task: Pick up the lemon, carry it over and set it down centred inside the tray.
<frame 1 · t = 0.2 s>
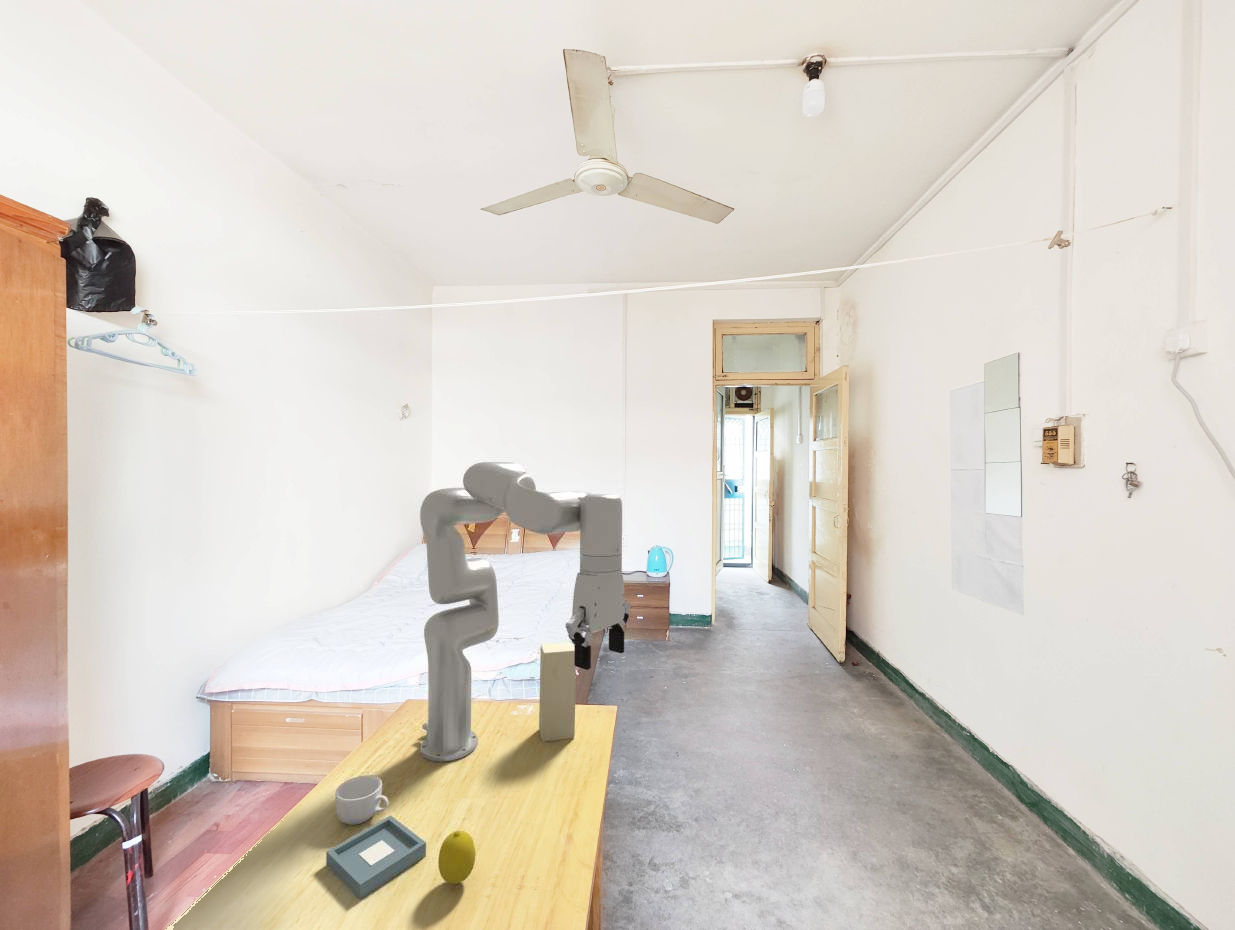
hand: (600, 659, 92), 31 cm above the table, fingers open, 9 cm apart
tray: (376, 860, 85), on the table
lemon: (456, 884, 81), on the table
beige rectangular block: (556, 733, 127), on the table
teacup: (363, 818, 96), on the table
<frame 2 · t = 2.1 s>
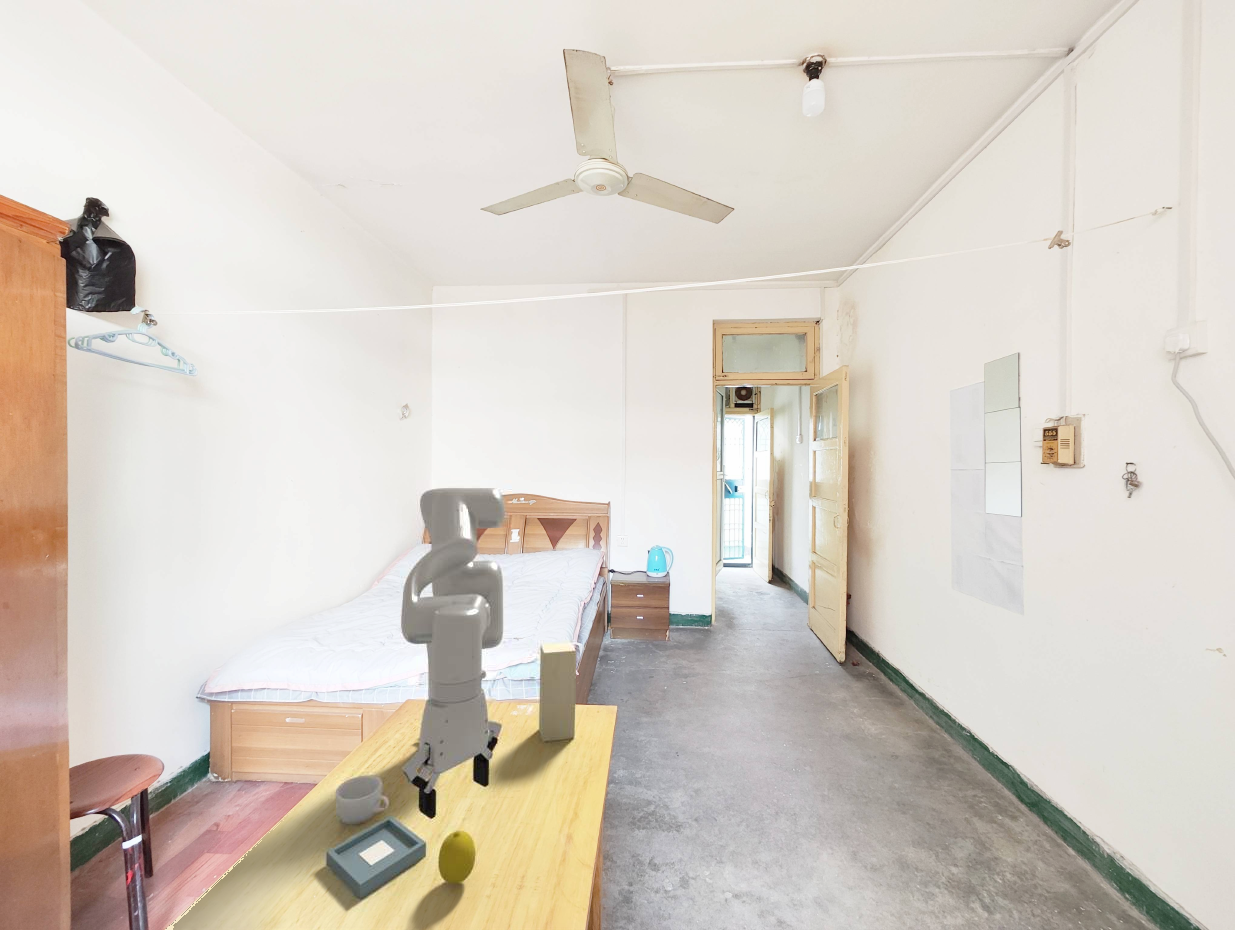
hand: (455, 798, 80), 13 cm above the table, fingers open, 9 cm apart
nothing on the table moved.
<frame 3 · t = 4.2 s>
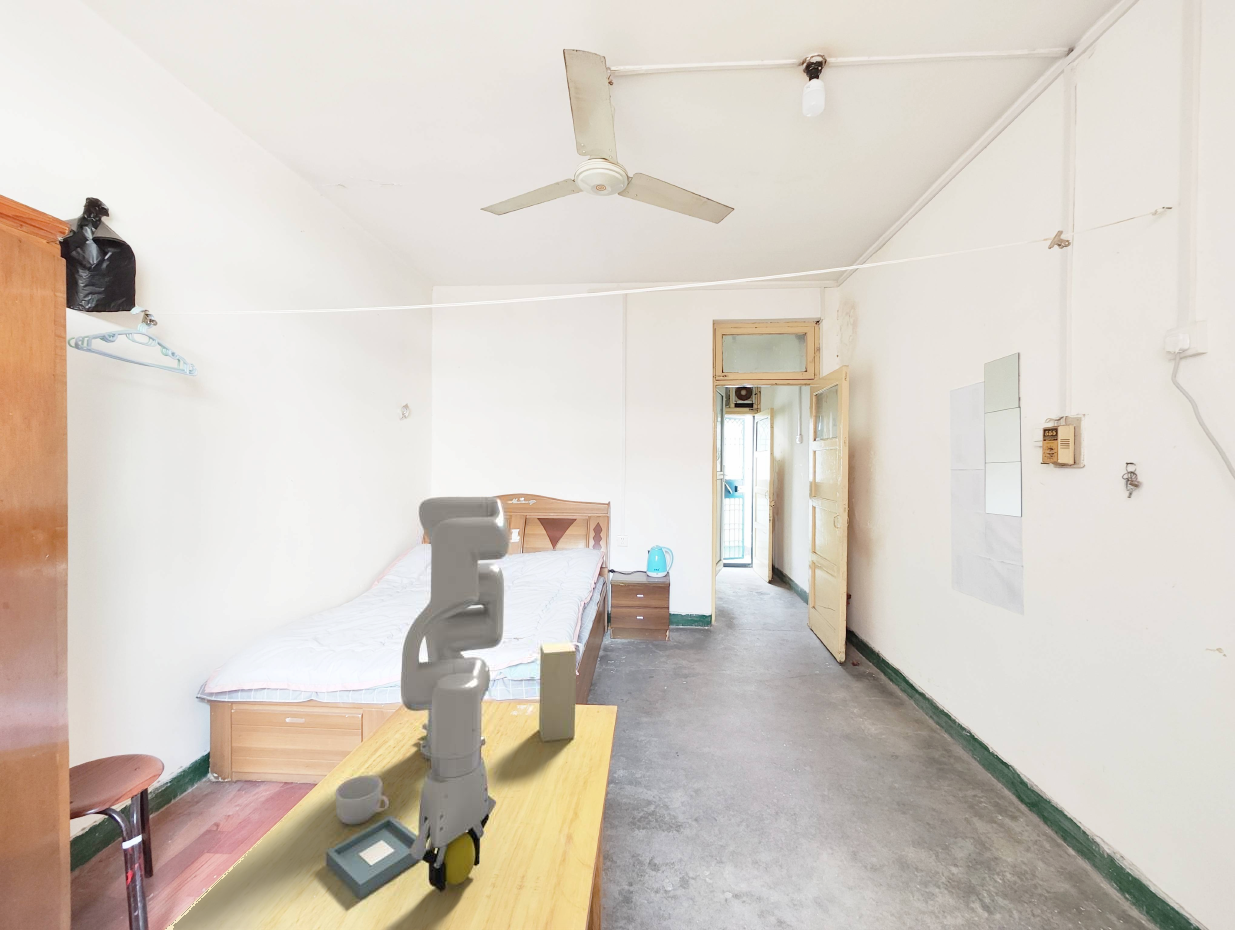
hand: (455, 872, 81), 2 cm above the table, fingers closed on lemon, 5 cm apart
lemon: (456, 884, 81), on the table, touching gripper
everything else where it was.
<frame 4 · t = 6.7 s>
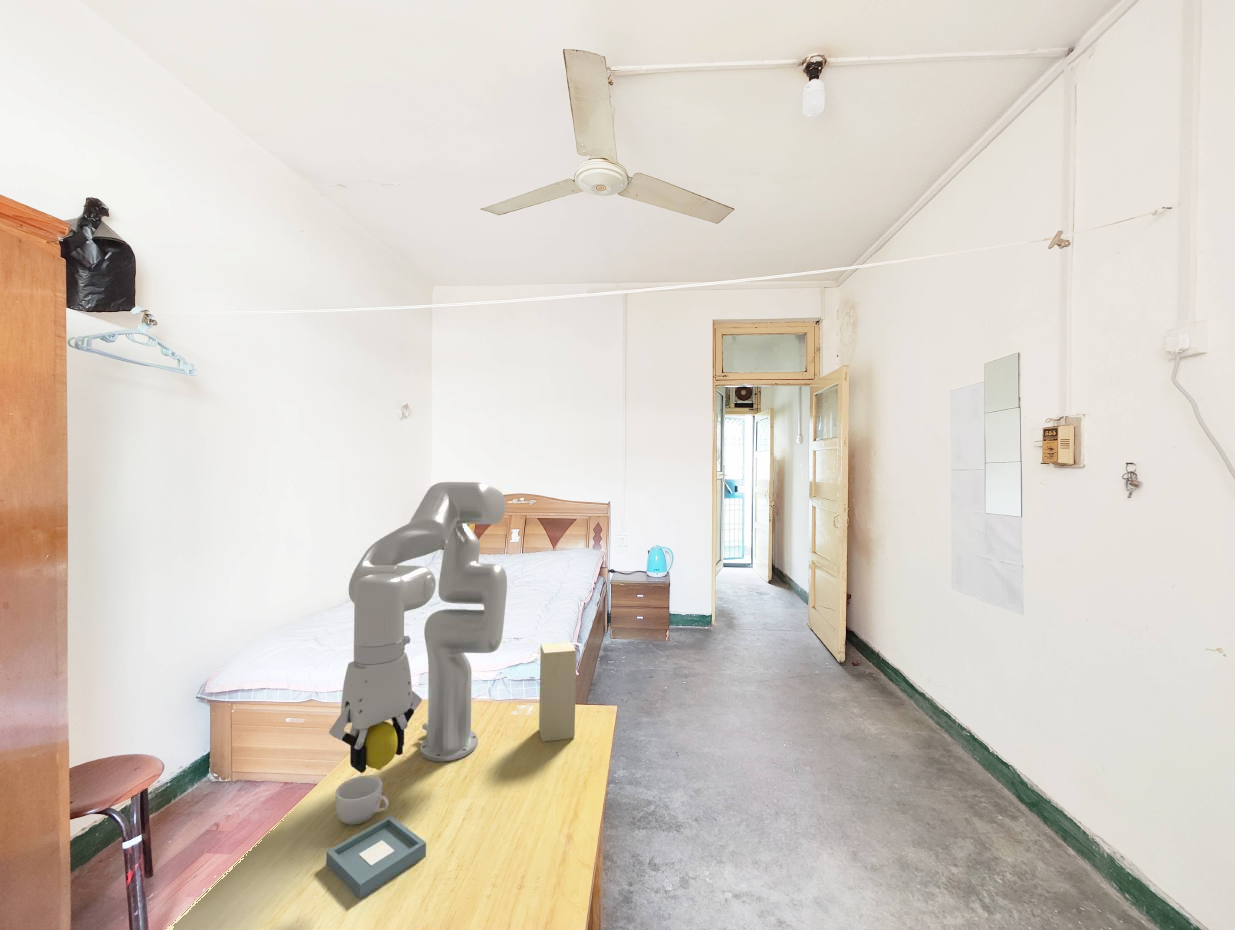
hand: (377, 759, 85), 17 cm above the table, fingers closed on lemon, 5 cm apart
lemon: (379, 770, 85), point 15 cm above the table, touching gripper
everything else where it was.
when the fingers open (4 cm above the table, at t = 9.3 s): lemon stays where it is, resting on tray.
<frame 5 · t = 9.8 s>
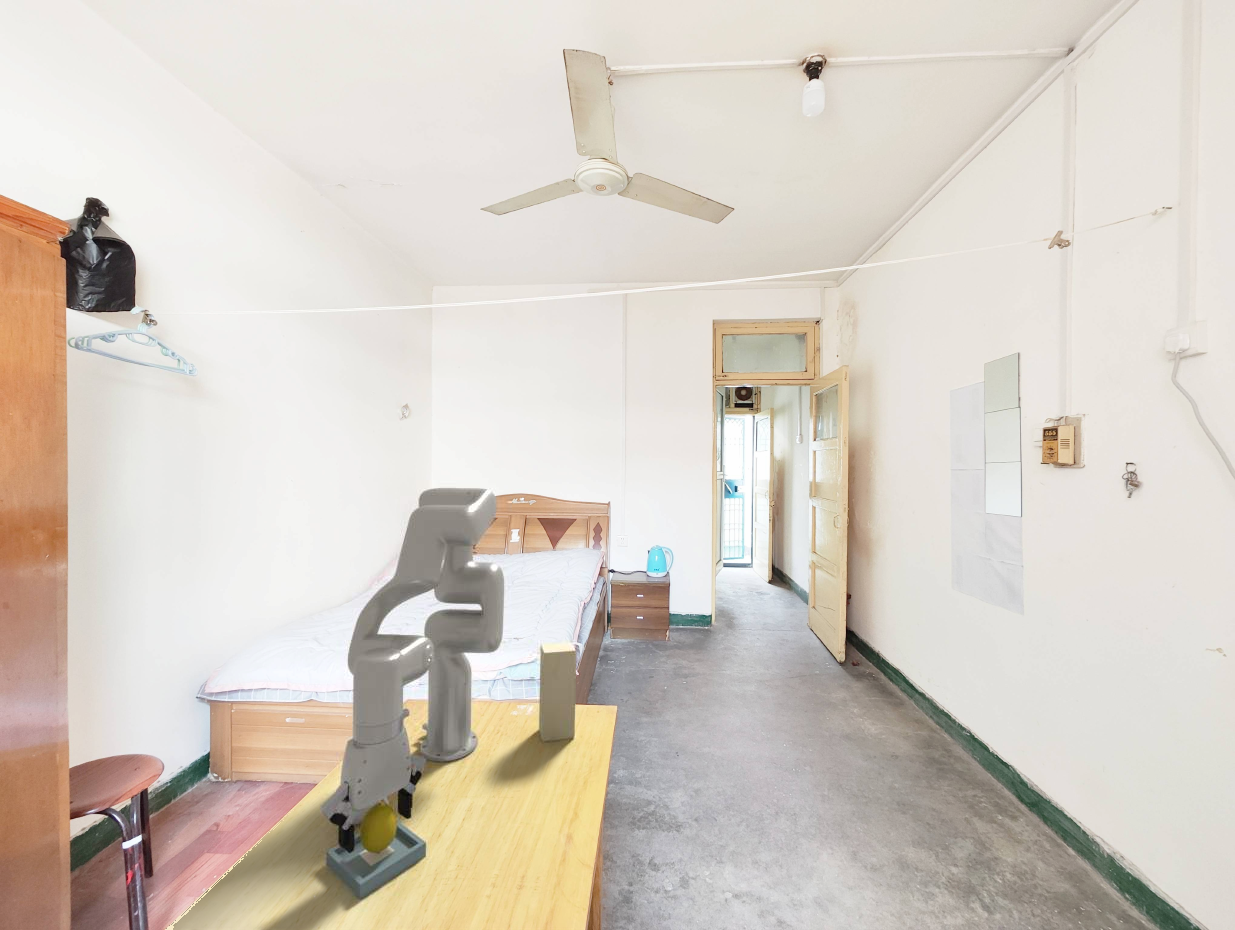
hand: (377, 831, 85), 5 cm above the table, fingers open, 9 cm apart
lemon: (378, 853, 85), point 1 cm above the table, touching tray
everything else where it was.
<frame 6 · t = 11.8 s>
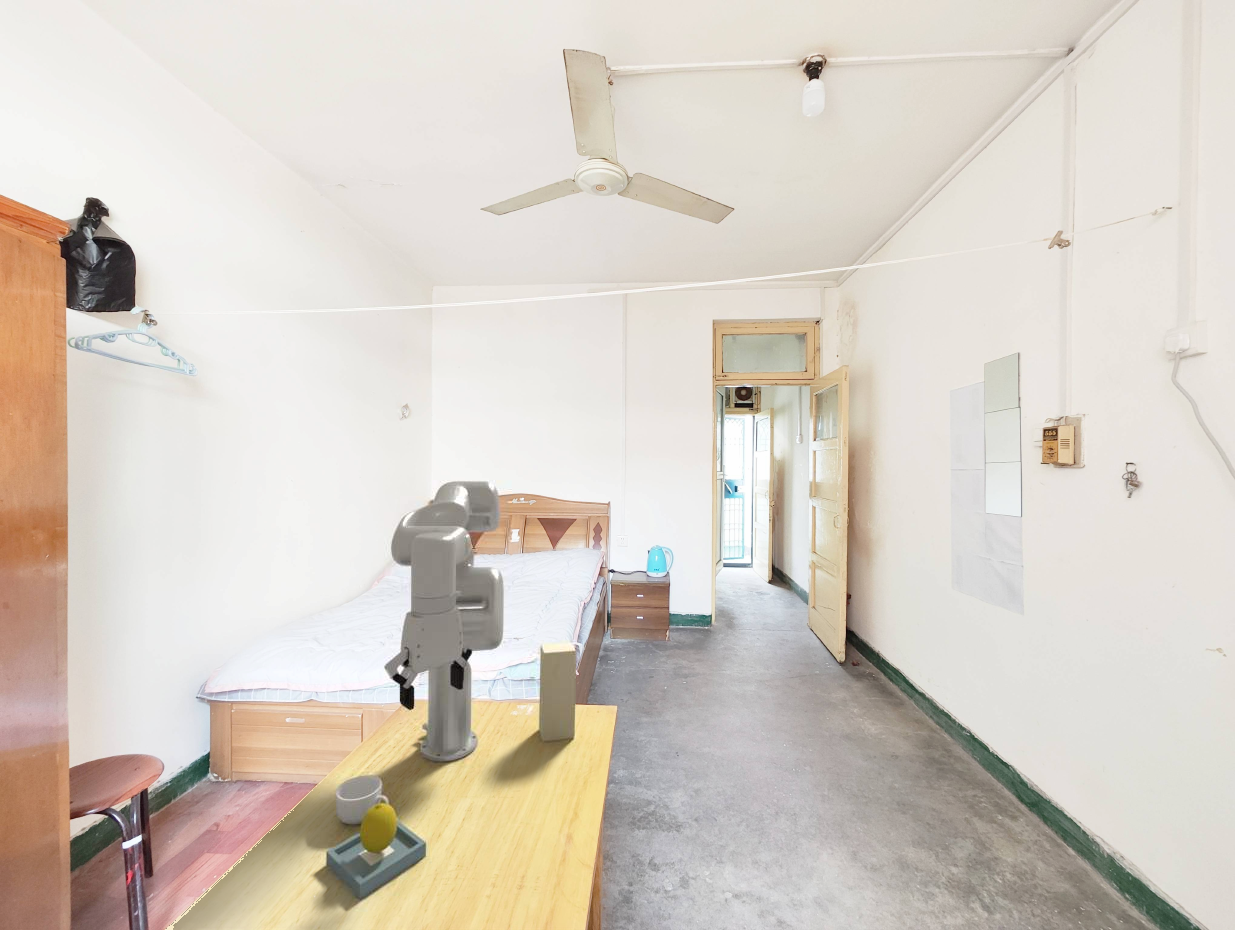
hand: (433, 696, 93), 24 cm above the table, fingers open, 9 cm apart
nothing on the table moved.
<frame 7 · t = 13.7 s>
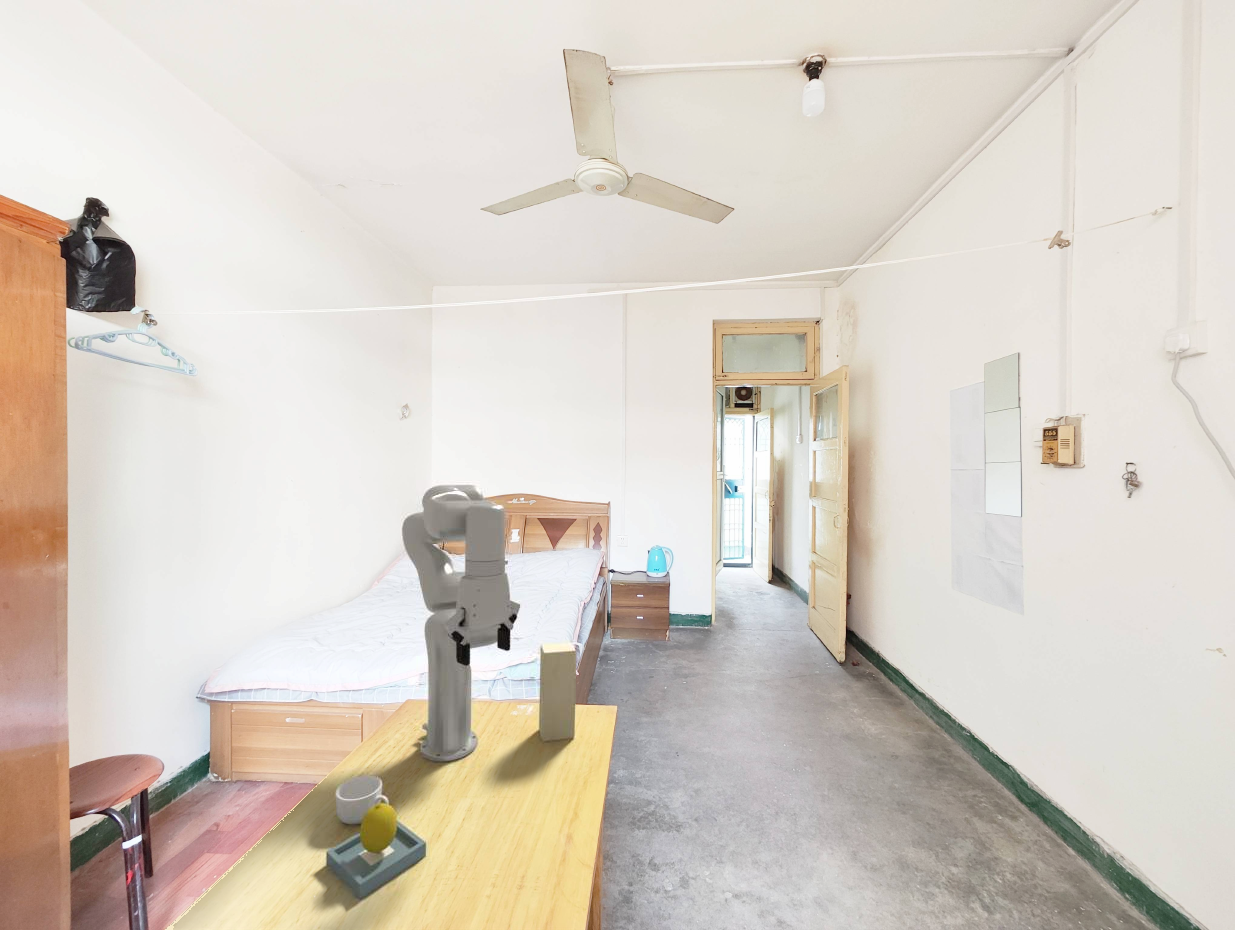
hand: (484, 656, 100), 28 cm above the table, fingers open, 9 cm apart
nothing on the table moved.
at the end: lemon 0.3 cm off-centre on the tray, point 1.1 cm above the tray's base; lemon touching tray; the gripper is holding nothing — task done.
